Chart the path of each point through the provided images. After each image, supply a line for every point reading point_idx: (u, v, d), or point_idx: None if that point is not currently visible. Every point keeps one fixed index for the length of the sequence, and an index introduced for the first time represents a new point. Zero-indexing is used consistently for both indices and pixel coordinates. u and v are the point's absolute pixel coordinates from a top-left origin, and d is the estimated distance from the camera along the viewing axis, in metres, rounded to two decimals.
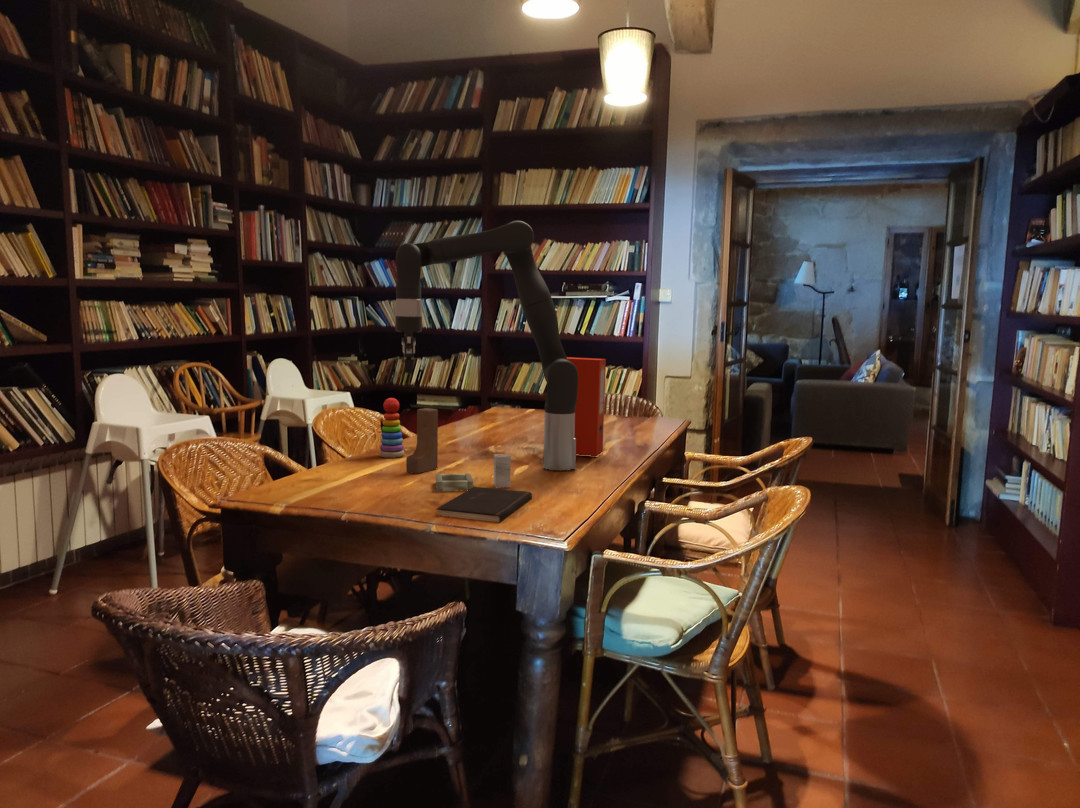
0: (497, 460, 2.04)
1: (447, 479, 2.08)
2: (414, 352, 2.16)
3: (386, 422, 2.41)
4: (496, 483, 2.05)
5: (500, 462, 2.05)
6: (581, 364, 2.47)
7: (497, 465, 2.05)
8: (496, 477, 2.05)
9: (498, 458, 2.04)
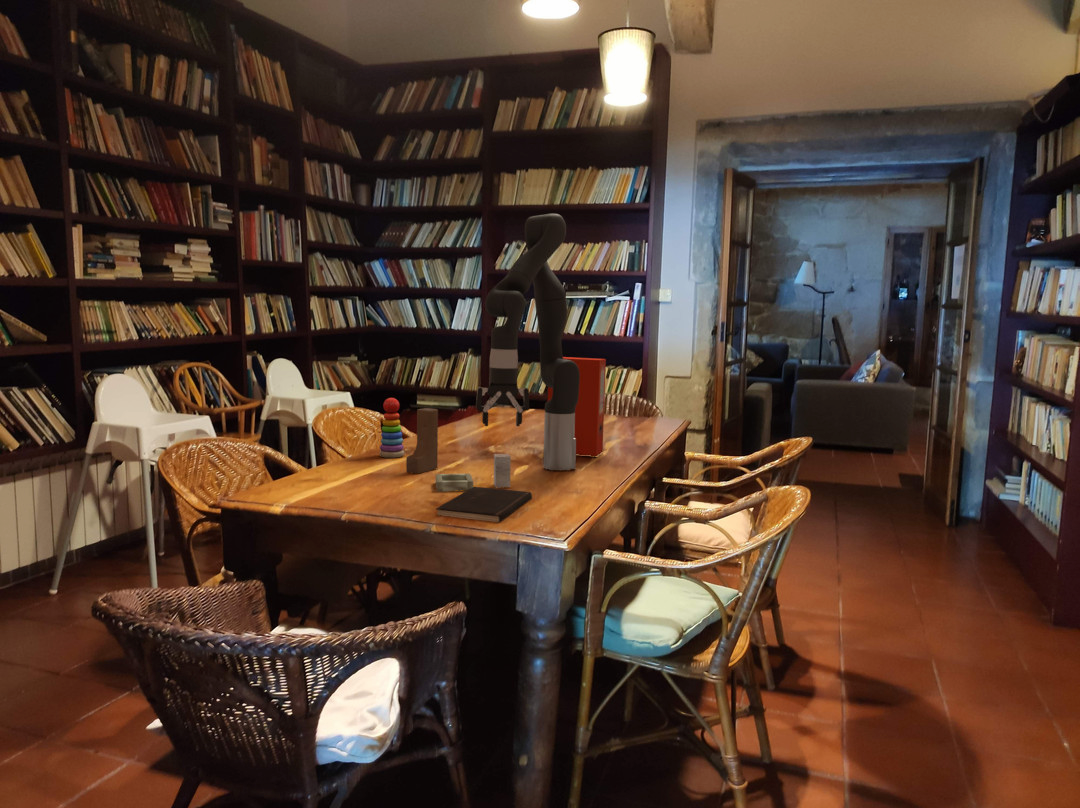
0: (497, 460, 2.04)
1: (447, 479, 2.08)
2: None
3: (386, 422, 2.41)
4: (496, 483, 2.05)
5: (500, 462, 2.05)
6: (581, 364, 2.47)
7: (497, 465, 2.05)
8: (496, 477, 2.05)
9: (498, 458, 2.04)
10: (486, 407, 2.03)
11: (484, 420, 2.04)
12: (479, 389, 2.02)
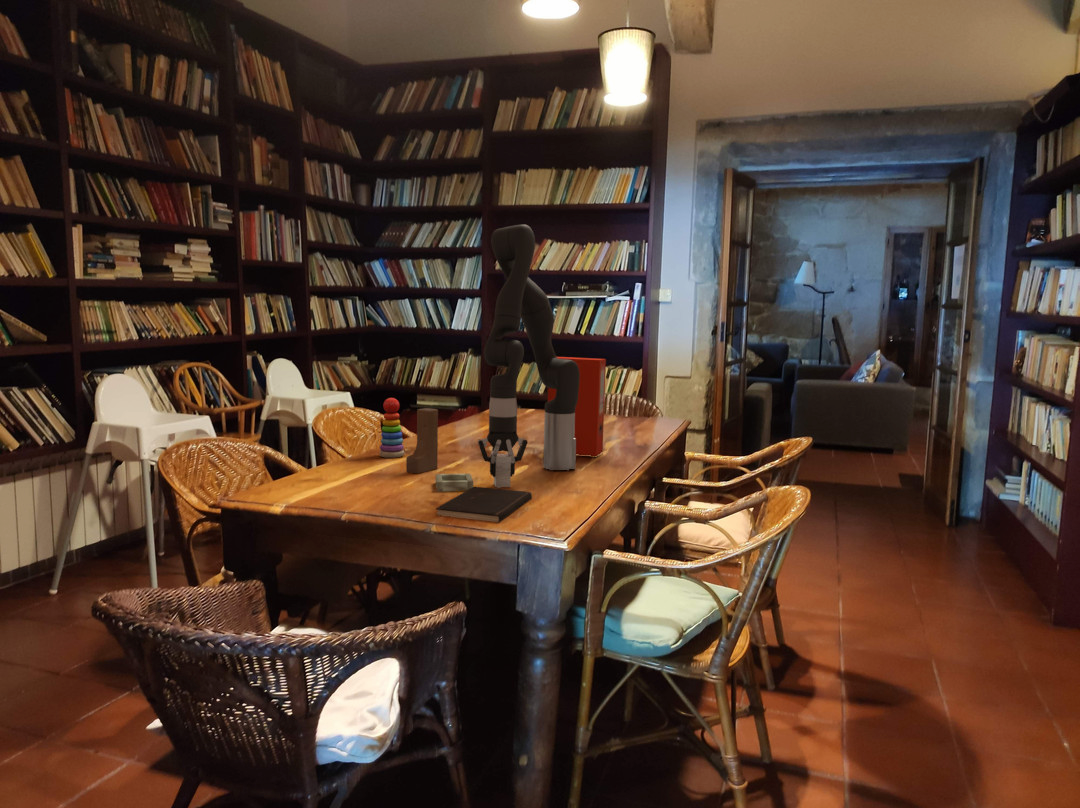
0: (497, 460, 2.04)
1: (447, 479, 2.08)
2: None
3: (386, 422, 2.41)
4: (496, 483, 2.05)
5: (500, 462, 2.05)
6: (581, 364, 2.47)
7: (497, 465, 2.05)
8: (496, 477, 2.05)
9: (499, 458, 2.04)
10: (493, 458, 2.05)
11: (492, 471, 2.06)
12: (479, 442, 2.04)
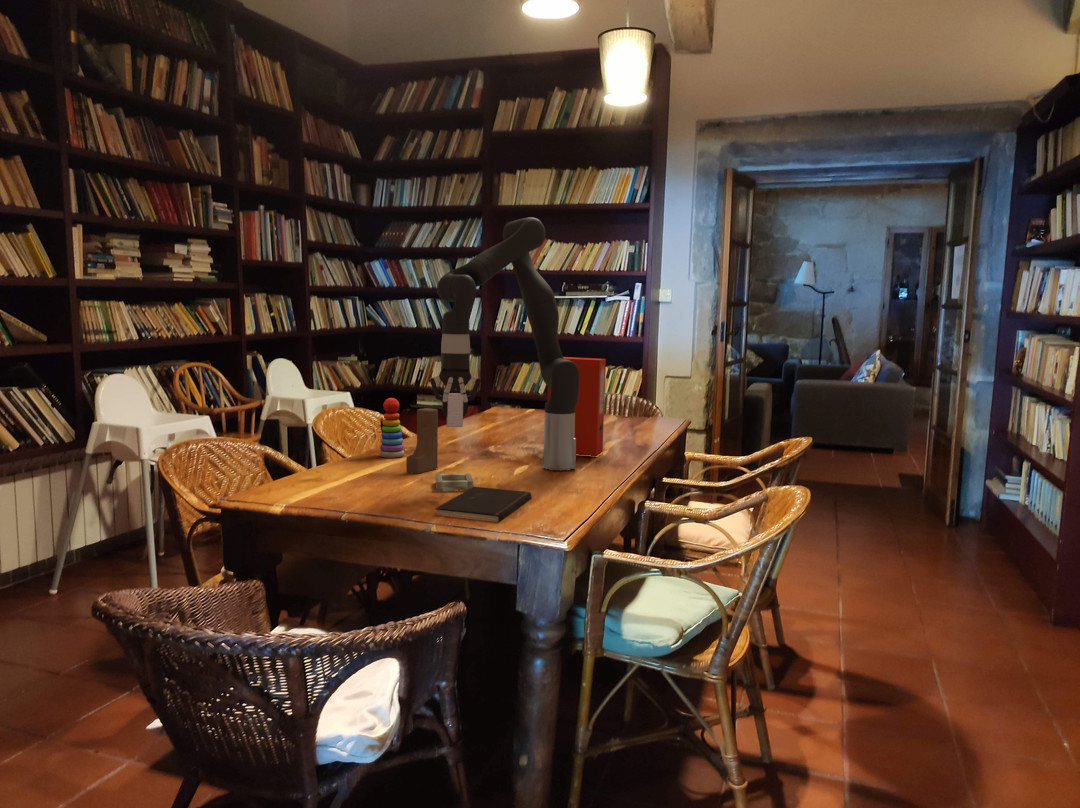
0: (449, 398, 2.00)
1: (447, 479, 2.08)
2: None
3: (386, 422, 2.41)
4: (448, 422, 2.01)
5: (452, 400, 2.00)
6: (581, 364, 2.47)
7: (449, 404, 2.00)
8: (448, 416, 2.01)
9: (451, 396, 2.00)
10: (445, 397, 2.00)
11: (444, 410, 2.01)
12: (431, 380, 1.99)
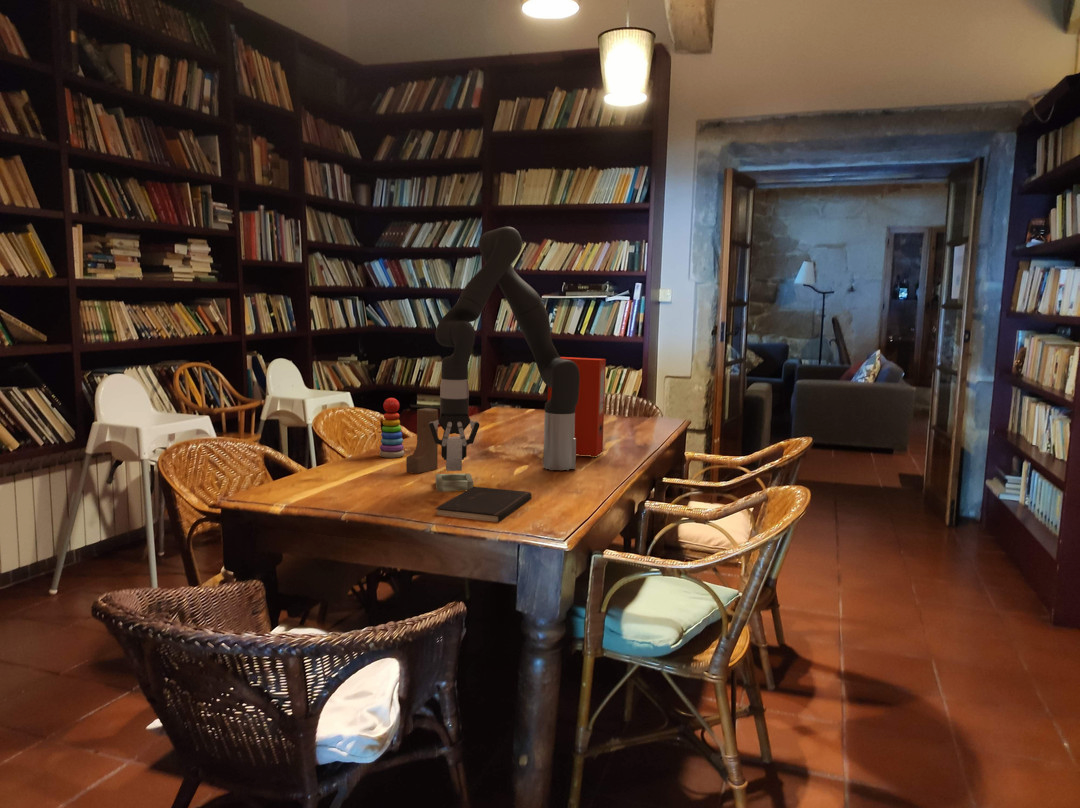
0: (448, 443, 2.02)
1: (447, 479, 2.08)
2: None
3: (386, 422, 2.41)
4: (447, 466, 2.02)
5: (451, 445, 2.02)
6: (581, 364, 2.47)
7: (448, 448, 2.02)
8: (447, 460, 2.02)
9: (450, 440, 2.02)
10: (445, 441, 2.02)
11: (443, 454, 2.03)
12: (430, 424, 2.01)
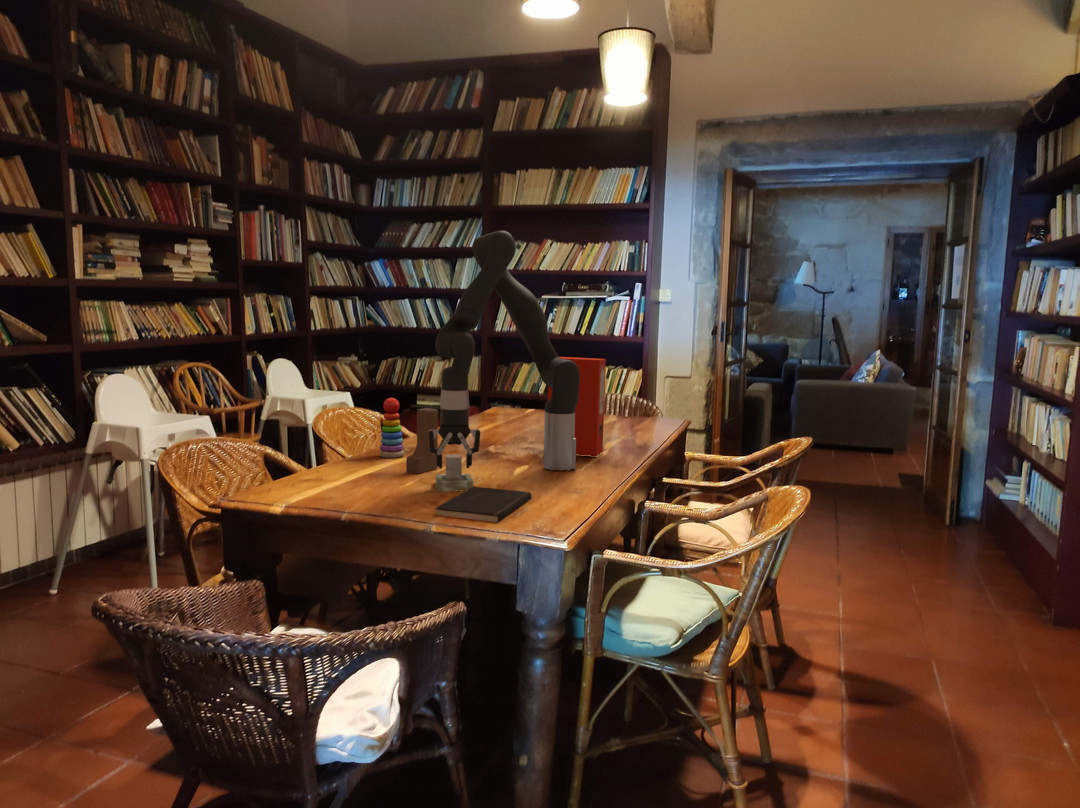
0: (448, 461, 2.02)
1: None
2: None
3: (386, 422, 2.41)
4: None
5: (451, 463, 2.02)
6: (581, 364, 2.47)
7: (448, 466, 2.02)
8: (447, 478, 2.03)
9: (449, 459, 2.02)
10: (440, 450, 2.02)
11: (438, 463, 2.03)
12: (430, 432, 2.01)
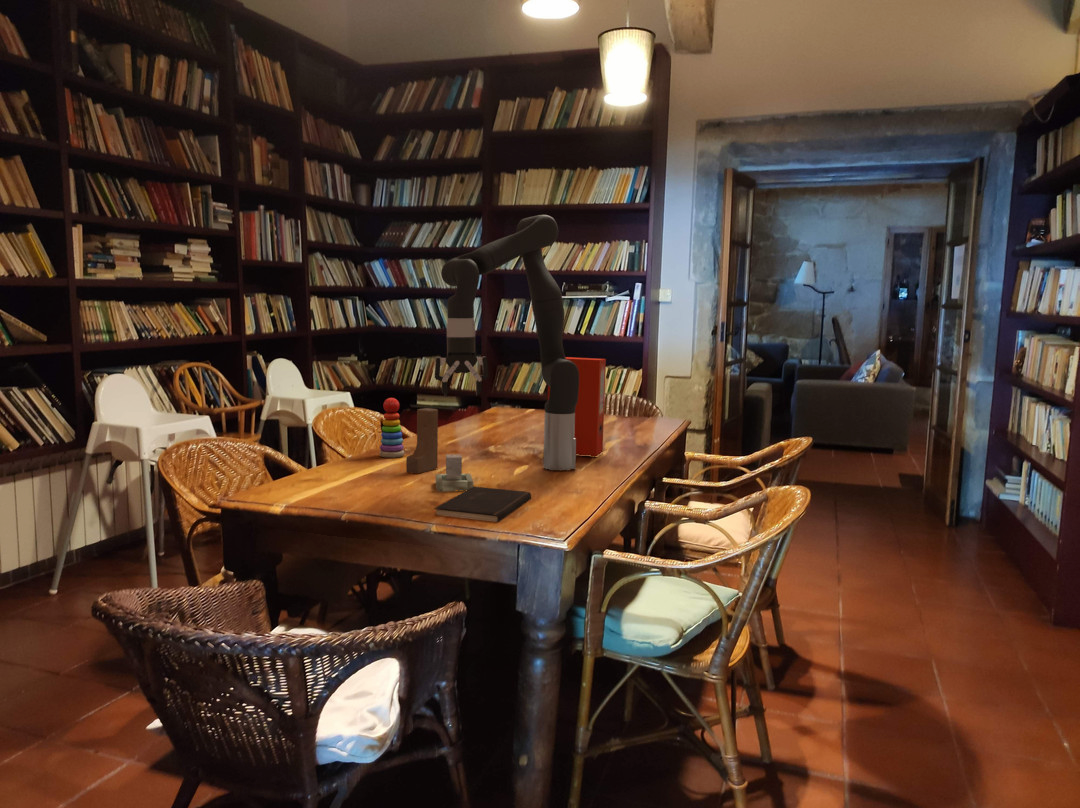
0: (448, 461, 2.02)
1: None
2: None
3: (386, 422, 2.41)
4: None
5: (451, 463, 2.02)
6: (581, 364, 2.47)
7: (448, 466, 2.02)
8: (447, 478, 2.03)
9: (449, 459, 2.02)
10: (445, 377, 2.03)
11: (443, 390, 2.04)
12: (437, 359, 2.02)
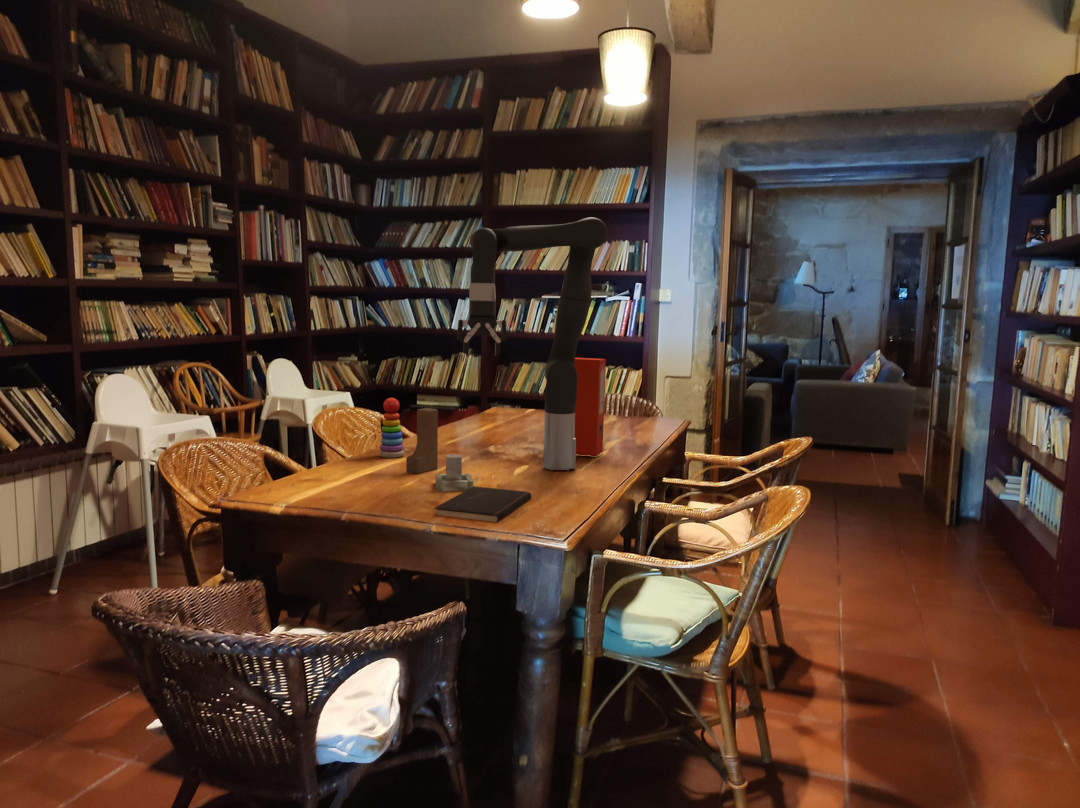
0: (448, 461, 2.02)
1: None
2: (492, 335, 2.22)
3: (386, 422, 2.41)
4: None
5: (451, 463, 2.02)
6: (581, 364, 2.47)
7: (448, 466, 2.02)
8: (447, 478, 2.03)
9: (449, 459, 2.02)
10: (466, 338, 2.18)
11: (465, 350, 2.19)
12: (460, 321, 2.17)
